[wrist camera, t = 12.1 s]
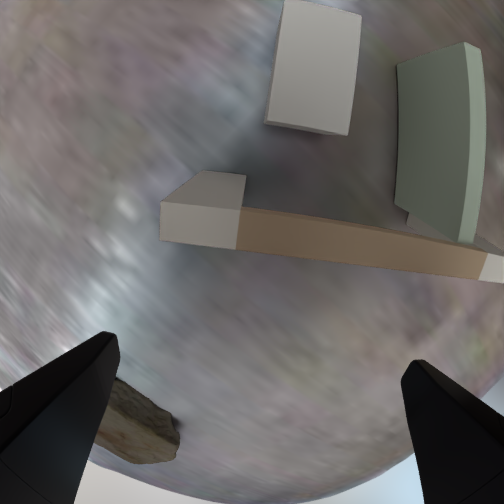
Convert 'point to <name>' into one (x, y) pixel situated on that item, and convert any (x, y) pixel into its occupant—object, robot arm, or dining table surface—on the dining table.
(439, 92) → the door
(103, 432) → the brown stone slab
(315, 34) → the block
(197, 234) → the wall frame
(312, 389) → the dining table surface
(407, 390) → the robot arm
